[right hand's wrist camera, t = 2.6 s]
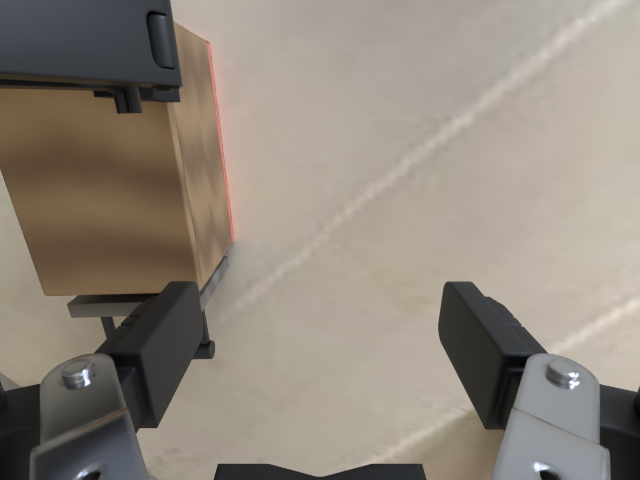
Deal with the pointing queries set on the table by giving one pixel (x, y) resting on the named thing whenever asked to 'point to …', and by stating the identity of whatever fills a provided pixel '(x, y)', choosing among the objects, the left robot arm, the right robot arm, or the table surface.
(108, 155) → the cabinet
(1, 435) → the right robot arm
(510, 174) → the table surface
